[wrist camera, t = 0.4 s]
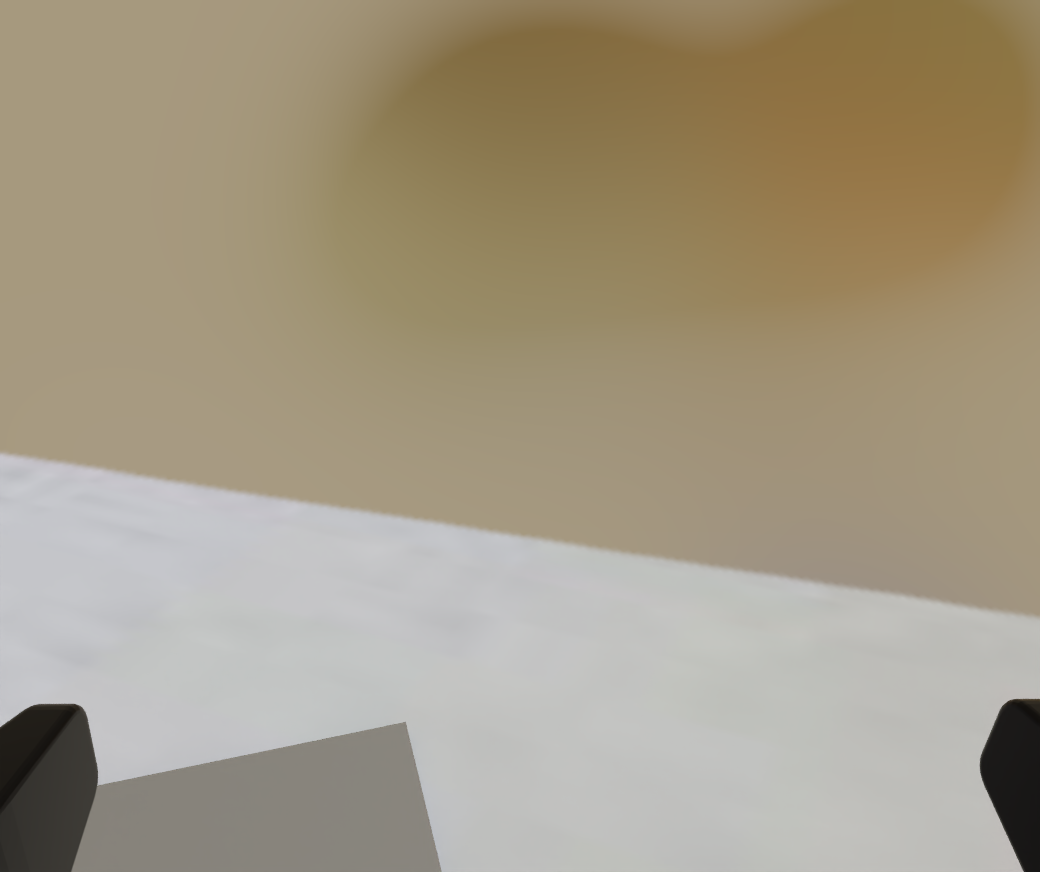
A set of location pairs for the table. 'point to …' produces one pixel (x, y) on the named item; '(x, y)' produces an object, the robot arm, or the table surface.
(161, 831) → the rubber mat
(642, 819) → the table surface
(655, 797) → the table surface
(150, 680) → the table surface
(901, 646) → the table surface
